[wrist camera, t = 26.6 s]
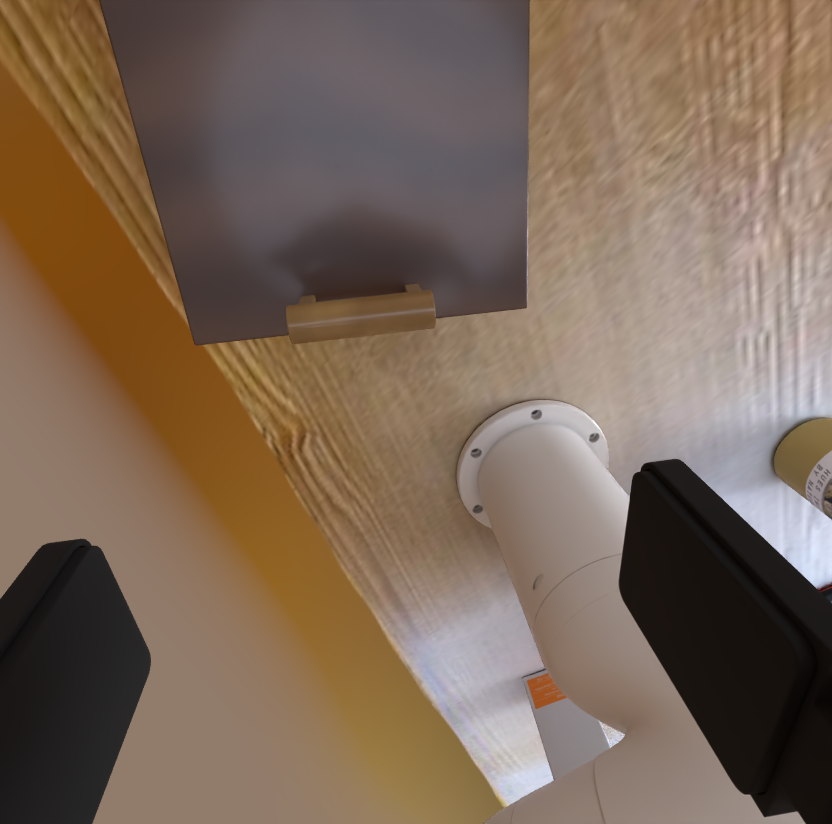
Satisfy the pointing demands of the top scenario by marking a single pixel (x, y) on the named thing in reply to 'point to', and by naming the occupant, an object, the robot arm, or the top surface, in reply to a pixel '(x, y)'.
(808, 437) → the paper tube
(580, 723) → the cosmetic box
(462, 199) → the lid
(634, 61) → the top surface
